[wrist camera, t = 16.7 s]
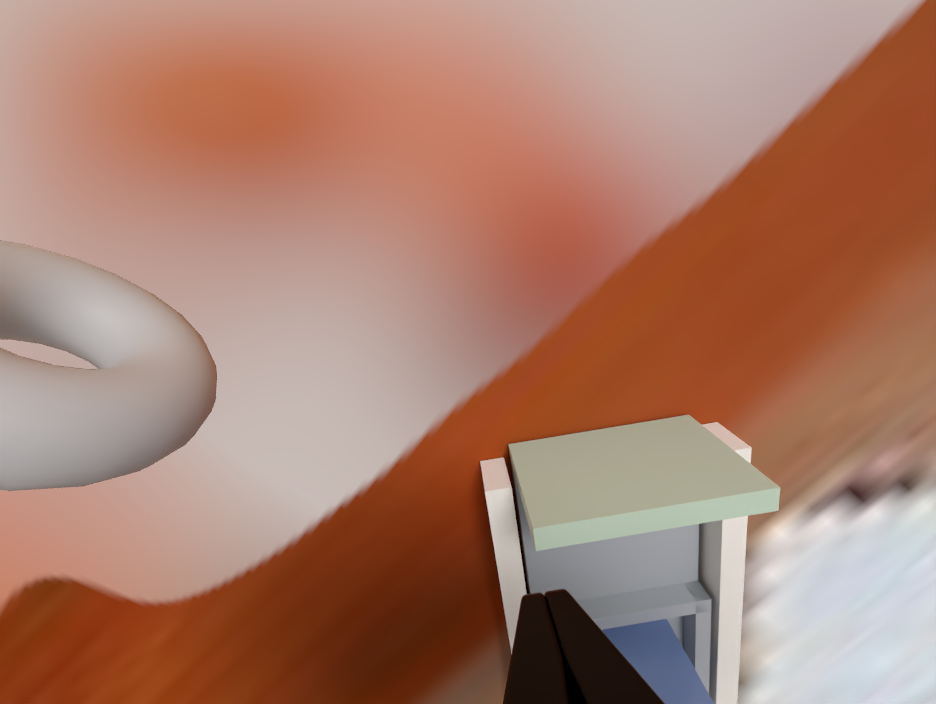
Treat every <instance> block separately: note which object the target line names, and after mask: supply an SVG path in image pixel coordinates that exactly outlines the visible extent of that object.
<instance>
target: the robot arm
mask: <svg viewBox="0 0 936 704" xmlns="http://www.w3.org/2000/svg"><path fill="white" fill-rule="evenodd" d="M503 704H665V703H664V702H663V701H662V699H661V698H660V697H659V696H658V695H657V694H656V692H655V691H654V690H653V689H652V688H651V687H650V686H649V684H648V683H647V682H646V681H645V680H644V679H643V677H642V676H641V675H640V674H639V673H638V672H637V671H636V669H635V668H634V667H633V666H632V665H631V664H630V662H629V661H628V660H627V659H626V658H625V657H624V655H623V654H622V653H621V652H620V651H619V650H618V649H617V647H616V646H615V645H614V644H613V643H612V642H611V640H610V639H609V638H608V637H607V636H606V635H605V634H604V632H603V631H602V630H601V629H600V628H599V627H598V625H597V624H596V623H595V622H594V621H593V620H592V619H591V617H590V616H589V615H588V614H587V613H586V612H585V610H584V609H583V608H582V607H581V606H580V605H579V603H578V602H577V601H576V600H575V599H574V598H573V597H572V595H571V594H570V593H569V592H568V591H567V590H565V589H557V590H550V591H547V592H545V594H543V593H541V592H538V593H532V594H526V595H523V596H522V599H521V603H520V609H519V615H518V620H517V626H516V632H515V638H514V643H513V649H512V655H511V660H510V666H509V672H508V677H507V683H506V689H505V695H504V700H503Z"/></svg>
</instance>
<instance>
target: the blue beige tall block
mask: <svg viewBox="0 0 936 704" xmlns="http://www.w3.org/2000/svg"><path fill="white" fill-rule="evenodd" d="M602 631H603V632H604V634H605V635H606V636H607V637H608V638H609V639H610V640H611V642H612V643H613V644H614V645H615V646H616V647H617V649H618V650H619V651H620V652H621V653H622V654H623V655H624V657H625V658H626V659H627V660H628V661H629V662H630V664H631V665H632V666H633V667H634V668H635V669H636V671H637V672H638V673H639V674H640V675H641V676H642V677H643V679H644V680H645V681H646V682H647V683H648V684H649V686H650V687H651V688H652V689H653V690H654V691H655V692H656V694H657V695H658V696H659V697H660V698H661V699H662V701H663V702H664V703H665V704H714V702H713V701H712V699H711V697H710V695H709V693H708V692H707V690H706V688H705V686H704V685H703V683H702V681H701V679H700V677H699V676H698V674H697V672H696V670H695V668H694V667H693V665H692V663H691V661H690V660H689V658H688V656H687V654H686V652H685V651H684V649H683V647H682V645H681V644H680V642H679V640H678V638H677V636H676V635H675V633H674V631H673V629H672V627H671V626H670V624H669V622H668V620H667V619H662V620H656V621H650V622H644V623H638V624H632V625H626V626H620V627H614V628H609V629H603V630H602Z"/></svg>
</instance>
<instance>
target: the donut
mask: <svg viewBox="0 0 936 704" xmlns="http://www.w3.org/2000/svg"><path fill="white" fill-rule="evenodd" d="M0 339H11V340H18V341H26V342H33V343H39V344H43V345H47V346H51V347H54V348H57V349H61V350H64V351H67V352H69V353H72V354H74V355H76V356H78V357H80V358H83V359H85V360H88V361H89V362H90V363H92V364H93V365H95V366H96V367H98V368H99V369H81V368H72V367H64V366H55V365H51V364H48V363H44V362H40V361H36V360H32V359H29V358H25V357H21V356H18V355H16V354H14V353H11V352H9V351H7V350H4V349H2V348H0V490H8V491H14V490H30V489H47V488H61V487H79V486H86V485H89V484H93V483H97V482H101V481H104V480H108V479H111V478H115V477H119V476H123V475H126V474H130V473H133V472H137V471H140V470H142V469H144V468H146V467H148V466H150V465H152V464H154V463H155V462H157V461H159V460H160V459H162V458H164V457H165V456H167V455H169V454H170V453H172V452H174V451H175V450H177V449H179V448H180V447H182V446H184V445H185V444H186V443H187V442H188V441H189V440H190V439H191V438H192V437H193V436H194V435H195V434H196V432H197V431H198V429H199V428H200V426H201V425H202V424H203V422H204V421H205V419H206V418H207V417H208V415H209V414H210V412H211V411H212V408H213V405H214V403H215V398H216V380H217V373H216V365H215V363H214V361H213V359H212V357H211V354H210V352H209V350H208V348H207V346H206V344H205V342H204V340H203V339H202V337H201V335H200V334H199V333H198V332H197V331H196V330H195V329H194V328H193V327H192V326H191V325H190V323H188V321H187V320H186V319H185V318H184V317H183V316H182V315H181V314H180V313H178V312H177V311H176V310H174V309H173V308H171V307H170V306H169V305H167V304H166V303H164V302H163V301H162V300H160V299H159V298H158V297H156V296H155V295H154V294H152V293H150V292H148V291H146V290H144V289H142V288H141V287H139V286H137V285H135V284H133V283H131V282H129V281H127V280H125V279H123V278H122V277H120V276H118V275H116V274H114V273H111V272H108V271H106V270H104V269H101V268H98V267H96V266H93V265H91V264H88V263H86V262H83V261H81V260H78V259H75V258H72V257H68V256H65V255H61V254H57V253H54V252H50V251H47V250H43V249H40V248H36V247H33V246H29V245H25V244H19V243H14V242H7V241H2V240H0Z"/></svg>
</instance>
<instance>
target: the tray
mask: <svg viewBox="0 0 936 704" xmlns="http://www.w3.org/2000/svg"><path fill="white" fill-rule="evenodd" d="M508 446H509V453H510V460H511V467H512V474H513V482H514V489H515V496H516V503H517V510H518V518H519V525H520V532H521V539H522V546H523V554H524V561H525V568H526V575H527V582H528V590H529V594H532V593H538V592H541V593H543V594H545V592H547V591H550V590H557V589H565V590H567V591H568V592H569V593H570V594H571V595H572V597H573V598H574V599H575V600H576V601H577V602H578V603H579V605H580V606H581V607H582V608H583V609H584V610H585V612H586V613H587V614H588V615H589V616H590V617H591V619H592V620H593V621H594V622H595V623H596V624H597V625H598V627H599V628H600V629H601V630H603V629H609V628H614V627H620V626H626V625H632V624H638V623H644V622H650V621H656V620H662V619H667V620H668V622H669V624H670V626H671V627H672V629H673V631H674V633H675V635H676V636H677V638H678V640H679V642H680V644H681V645H682V647H683V649H684V651H685V652H686V654H687V656H688V658H689V660H690V661H691V663H692V665H693V667H694V668H695V670H696V672H697V674H698V676H699V677H700V679H701V681H702V683H703V685H704V686H705V688H706V690H707V692H708V693H709V672H710V635H711V598H710V596H709V595H708V594H707V592H706V591H705V589H704V588H703V586H702V585H701V584H700V582H699V581H698V554H699V524H701V523H707V522H713V521H719V520H725V519H731V518H737V517H743V516H749V515H755V514H761V513H767V512H773V511H778V508H779V496H780V487H779V486H778V485H776V484H775V483H774V482H773V481H771V480H770V479H769V478H768V477H766V476H765V475H764V474H763V473H761V472H760V471H759V470H758V469H756V468H755V467H754V466H753V465H751V464H750V463H749V462H748V461H746V460H745V459H744V458H743V457H741V456H740V455H739V454H738V453H736V452H735V451H734V450H732V449H731V448H730V447H729V446H727V445H726V444H725V443H724V442H722V441H721V440H720V439H719V438H717V437H716V436H715V435H714V434H712V433H711V432H710V431H709V430H707V429H706V428H705V427H704V426H702V425H701V424H700V423H699V422H697V421H696V420H695V419H694V418H692V417H691V416H690V415H684V416H678V417H672V418H666V419H659V420H653V421H647V422H641V423H635V424H629V425H623V426H617V427H611V428H605V429H599V430H593V431H587V432H581V433H574V434H568V435H562V436H556V437H550V438H544V439H538V440H532V441H526V442H520V443H514V444H508Z"/></svg>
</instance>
